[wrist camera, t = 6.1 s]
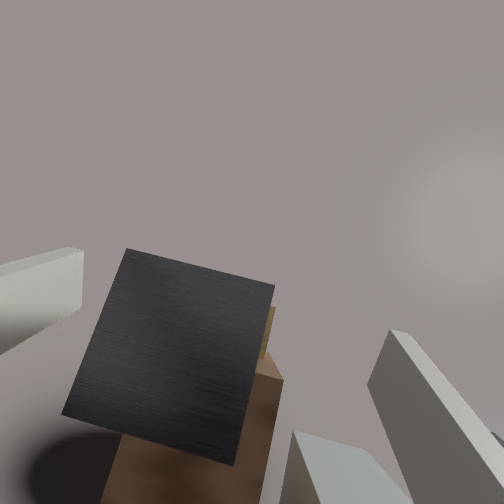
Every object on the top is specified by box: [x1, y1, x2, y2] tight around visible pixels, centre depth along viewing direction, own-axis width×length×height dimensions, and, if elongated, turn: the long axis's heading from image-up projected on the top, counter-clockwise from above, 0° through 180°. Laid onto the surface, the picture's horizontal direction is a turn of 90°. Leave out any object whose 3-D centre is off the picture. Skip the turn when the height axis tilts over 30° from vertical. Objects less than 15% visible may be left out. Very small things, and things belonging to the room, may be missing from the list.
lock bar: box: [61, 248, 275, 466], centre depth 19 cm, size 26×7×5 cm, turn 0°
